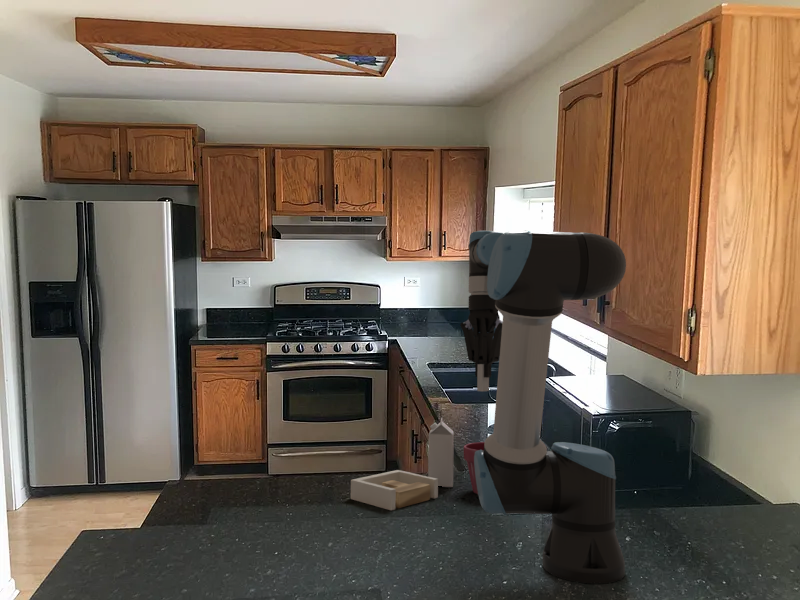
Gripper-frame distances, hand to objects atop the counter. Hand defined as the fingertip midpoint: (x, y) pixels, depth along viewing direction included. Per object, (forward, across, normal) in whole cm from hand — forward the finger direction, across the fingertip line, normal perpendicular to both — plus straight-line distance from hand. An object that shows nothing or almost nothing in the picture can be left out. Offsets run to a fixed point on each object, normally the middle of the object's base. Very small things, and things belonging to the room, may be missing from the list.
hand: (483, 390), depth 159 cm
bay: (+30, +27, +3) cm, 40 cm away
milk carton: (+31, +28, -18) cm, 45 cm away
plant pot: (+31, +13, -21) cm, 39 cm away
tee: (+30, +24, +3) cm, 39 cm away
